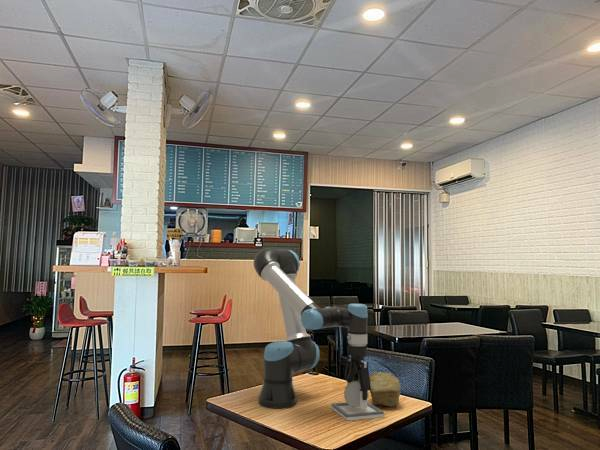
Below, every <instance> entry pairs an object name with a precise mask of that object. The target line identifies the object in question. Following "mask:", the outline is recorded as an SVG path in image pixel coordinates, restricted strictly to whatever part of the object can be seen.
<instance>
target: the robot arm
mask: <svg viewBox="0 0 600 450" xmlns="http://www.w3.org/2000/svg"><path fill="white" fill-rule="evenodd" d="M300 265H301V261H300V257H299V255H298V254H297V253H296V252H295V251H293V250H291V249H287V248H271V247H270V248H269V247H266V248H263V249H261V250H259V251H258V252H256V254H255V256H254V259H253V269H254V270H255V273H257V275H258V277H260V278H261V280H262V281H265V282H268V283H269V284H270V286H271V287H273V289H274V290H276V291H277V293H278V298H279V304H280V308H281V314H282V318H283V323H284V329H285V332H286V337H285V340H282V341H281V340H280V341H274V342H271V343H269V344H267V345H265V348H264V353H263V384H262V387H261V390H260V392H259V396H258V404H259V405H260V406H262V407H264V408H270V409H286V408H287V409H288V408H291V407H294V406H296V404H297V394H296V392H295V389H294V388H295V387H294V385H293V378H294V377H293V374H295V373H299V372H304V371H305V372H306V371H309V370H311V369H313V368H315V367H316V366H317V364H318V362H319V361H320V354H321V353H320V348H319V346H318V344H316V342H315V341H313V340H312V337H311V335H310V334H308V333H307V330H308V331H312V330H314V331H315V330H321V329H327V328H328V329H329V328H335V327H339V328H347V336H346V338H347V343H348V345H347V355H346V365H345V371H344V372H345V373H344V380H345V381H346V383H347V384H346V386H347V385H348V384H349V383H350V382H352V381H356V380H355V377H356V374H357V377H358V381H359V382H360V387H361V389H360V409H367V402H368V398H367V391H368V392H369V391H370V390H371V386H370V378H369V377H370V372H369V362H368V361H365V357H366V356H368V317H369V315H368V306H367V305H366V304H363V303H349V304H348V305H347V306H348V307H347V308H346V307H337V306H325V307H324V308H321V307H319V305H318V304H316V303H315V302H314V300H312V298H310V297H309V296H308V295H307V294H306V293H305V291H303V290H302V289H301V288H300V287H299V286H298V284H296V278H297V277H298V272H299V269H300V267H301V266H300Z"/></svg>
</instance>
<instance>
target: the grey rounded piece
mask: <svg viewBox="0 0 600 450" xmlns="http://www.w3.org/2000/svg"><path fill="white" fill-rule="evenodd" d="M360 389H361V387H360V382H359V380H355V381H352V382H350V383H349V384H348V385H347V384H346V386H345V387H344V393H343V397H344V401H345V402H346V403H347V404H348V405H349V406H351V407H359V406H360ZM368 398H369V390H368V391H367V399H368Z"/></svg>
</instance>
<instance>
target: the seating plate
mask: <svg viewBox="0 0 600 450" xmlns="http://www.w3.org/2000/svg"><path fill="white" fill-rule="evenodd" d="M330 409H332V410H333V411H334V412H335V413H337V414H338V415H339V416H341V418H342V419H344V420H346V421H347V422H348V421H358V420H367V419H368V420H369V419H378V418H379V419H381V418H385V412H384V411H383V410H382V409H380V408H378V407H377V406H375V405H374V404H372V403H371V402H369V401H367V409H360V406H359V407H351V406H349V405H348V404H347V403H346V401H345V402H343V401H342V402H332V403H331V405H330Z"/></svg>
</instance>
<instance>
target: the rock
mask: <svg viewBox="0 0 600 450" xmlns="http://www.w3.org/2000/svg"><path fill="white" fill-rule="evenodd" d="M369 378H370V386H371V390H369V391H370V397H371V400H372V402H373V403H374V404H375V405H376V406H385V407H392V408H394V407H396V406H397V405H398V403H399V400H400V396H401V391H402V389H401V385H400V384H401V381H400V380H399V377H396V376H395V375H394V374H392V373H390V372H383V371H382V372H380V371H373V372H372V373H371V374H369Z"/></svg>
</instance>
